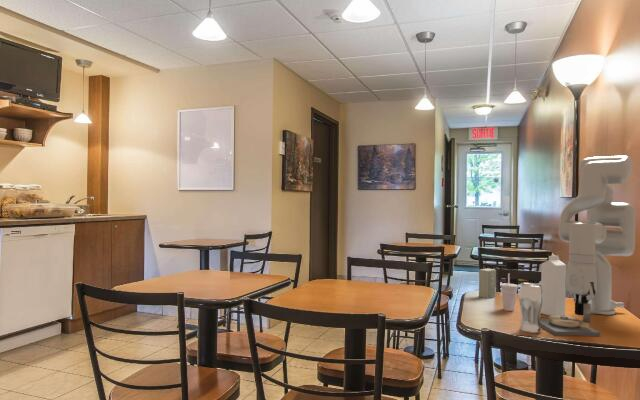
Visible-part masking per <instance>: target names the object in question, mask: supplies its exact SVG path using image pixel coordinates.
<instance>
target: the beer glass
mask: <svg viewBox="0 0 640 400" xmlns="http://www.w3.org/2000/svg"><path fill="white" fill-rule="evenodd" d="M519 285H520V286H519V295H518V296H519V297H518V299H519V300H518V301H519V306H520V308H519V309H520V313H521V324H520V330H521V331H522V332H523V333H530V334H540V333H541V332H542V329H541V328H542V327H540V318H541V314H542V313H541V310H542V304H543V290H542V285H541V283H533V282H521V283H520V284H519Z"/></svg>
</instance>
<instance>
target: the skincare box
mask: <svg viewBox="0 0 640 400" xmlns="http://www.w3.org/2000/svg"><path fill="white" fill-rule="evenodd" d="M478 271H479V272H478V297H479V298H484V299H490V298H495V297H496V291H497V290H496V288H497V287H496V283H497V279H496V278H497V277H496V276H497V270H496V269H493V268H489V267H487V268H481V269H479V270H478Z"/></svg>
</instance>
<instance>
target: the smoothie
mask: <svg viewBox="0 0 640 400" xmlns="http://www.w3.org/2000/svg"><path fill="white" fill-rule="evenodd" d="M510 274H511V272H510V273H507V283H500V285H499V286H500V288H501V295H502V305H503V310H504V311H507V312H513V311H515V307H516V299H517V292H518V289H519V285H518V284H516V283H515V284H514V283H511V282H510V280H511V277H510Z"/></svg>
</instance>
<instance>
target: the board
mask: <svg viewBox="0 0 640 400" xmlns="http://www.w3.org/2000/svg"><path fill="white" fill-rule="evenodd" d="M540 328H542V329H544V330H546V331H547V332H549V333H551V334H553V336H567V335H580V336H579V337H601V332H600V331H599V330H596V329H594V328H592V327H590V326H589V328H586V327H562V326H557V325H553V324H551V323H549V317H548V318H545V317H544V318H543V317H540ZM581 335H582V336H581Z"/></svg>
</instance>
